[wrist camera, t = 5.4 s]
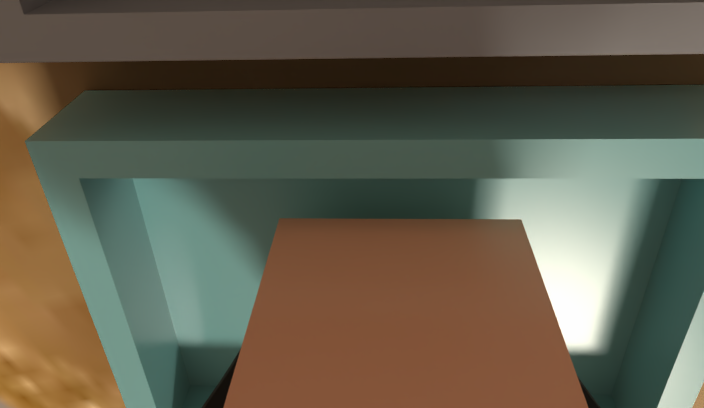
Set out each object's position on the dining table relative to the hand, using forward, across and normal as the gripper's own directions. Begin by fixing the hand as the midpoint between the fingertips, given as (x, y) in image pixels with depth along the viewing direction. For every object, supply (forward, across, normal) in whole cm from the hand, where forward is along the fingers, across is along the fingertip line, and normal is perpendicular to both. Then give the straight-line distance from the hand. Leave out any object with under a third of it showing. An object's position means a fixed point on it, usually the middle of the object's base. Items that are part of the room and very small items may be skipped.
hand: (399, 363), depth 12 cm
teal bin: (+3, 0, 0) cm, 3 cm away
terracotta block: (+1, 0, 0) cm, 1 cm away
